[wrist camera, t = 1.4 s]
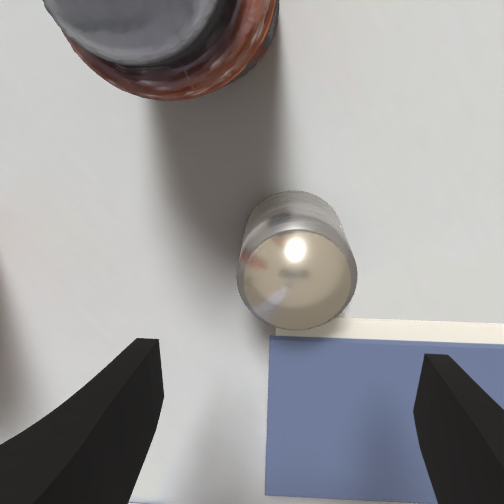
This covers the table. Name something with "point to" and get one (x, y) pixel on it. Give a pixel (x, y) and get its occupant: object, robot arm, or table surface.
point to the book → (363, 404)
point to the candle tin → (295, 262)
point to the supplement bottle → (168, 41)
